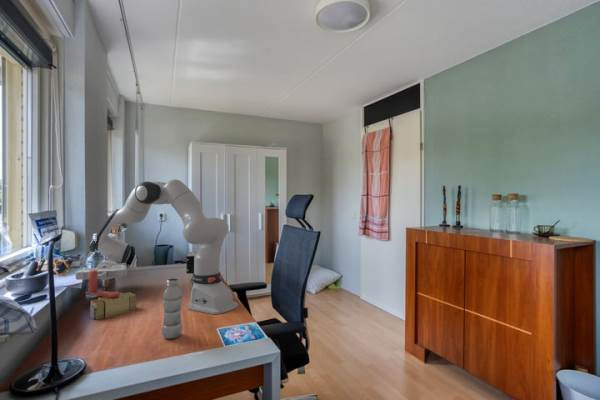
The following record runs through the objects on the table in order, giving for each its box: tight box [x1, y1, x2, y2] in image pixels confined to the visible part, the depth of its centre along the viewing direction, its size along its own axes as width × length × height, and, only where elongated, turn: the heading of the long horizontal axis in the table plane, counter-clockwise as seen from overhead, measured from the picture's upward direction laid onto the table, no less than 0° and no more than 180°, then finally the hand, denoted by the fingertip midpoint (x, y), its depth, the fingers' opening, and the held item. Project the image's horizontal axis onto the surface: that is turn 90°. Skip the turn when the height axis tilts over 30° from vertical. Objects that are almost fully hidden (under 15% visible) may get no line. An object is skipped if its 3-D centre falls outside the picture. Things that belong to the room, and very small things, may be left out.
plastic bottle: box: [161, 277, 183, 340], centre depth 108 cm, size 6×7×20 cm
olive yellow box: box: [89, 291, 137, 320], centre depth 130 cm, size 16×8×7 cm, turn 141°
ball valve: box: [185, 250, 198, 284], centre depth 178 cm, size 18×8×18 cm, turn 15°
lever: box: [87, 270, 121, 297], centre depth 131 cm, size 14×4×10 cm, turn 81°
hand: (97, 277), depth 138 cm, fingers closed
